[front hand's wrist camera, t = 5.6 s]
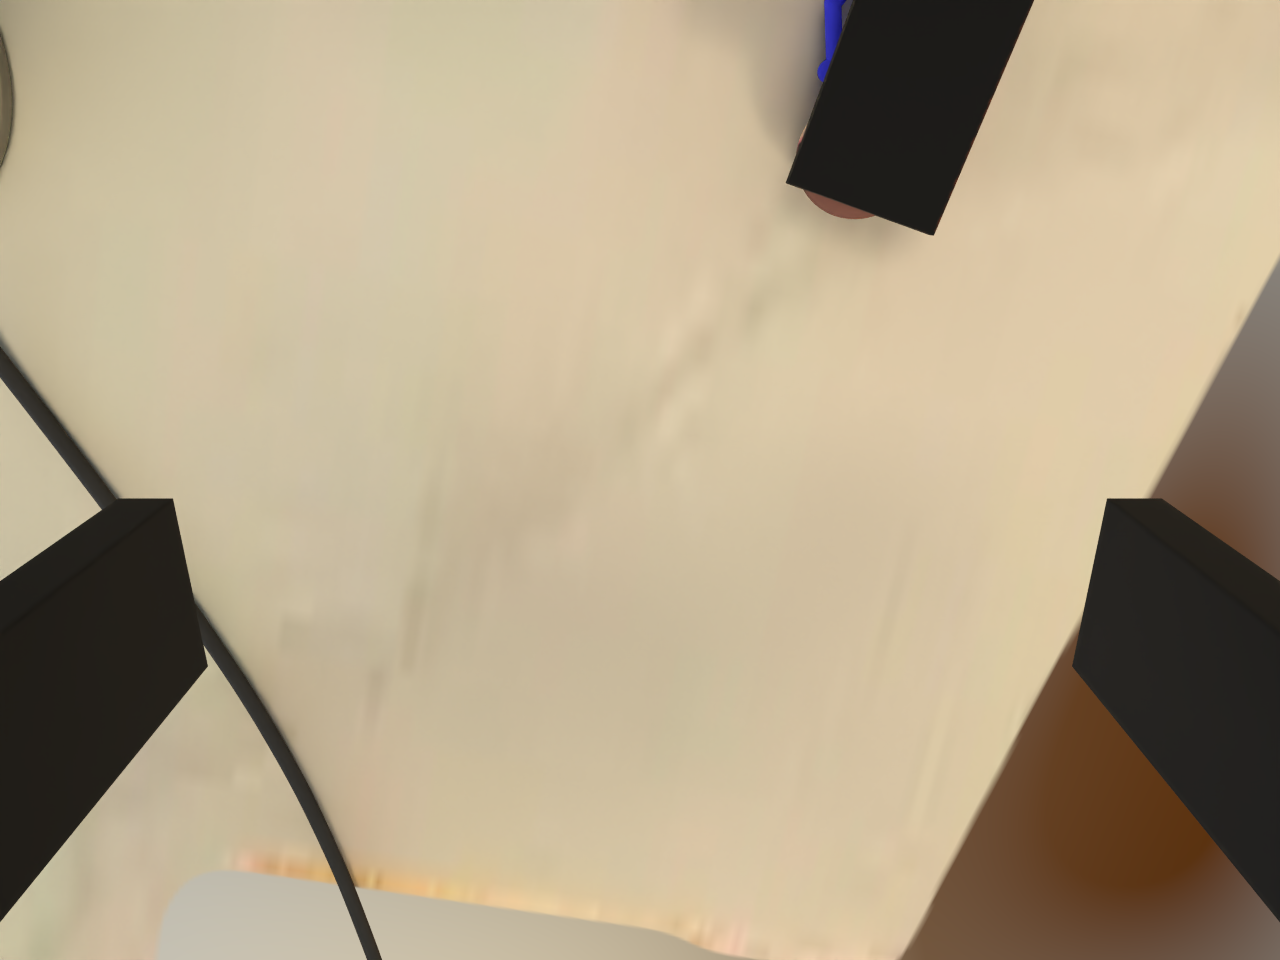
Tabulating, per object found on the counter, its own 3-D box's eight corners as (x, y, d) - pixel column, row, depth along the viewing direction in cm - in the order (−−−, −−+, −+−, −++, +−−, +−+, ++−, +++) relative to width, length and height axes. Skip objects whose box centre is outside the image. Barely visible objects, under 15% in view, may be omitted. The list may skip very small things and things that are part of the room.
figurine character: (873, -179, 36) (751, 193, 39) (943, -286, 28) (786, 183, 32) (1023, -120, 36) (890, 239, 40) (1129, -209, 29) (954, 241, 33)
